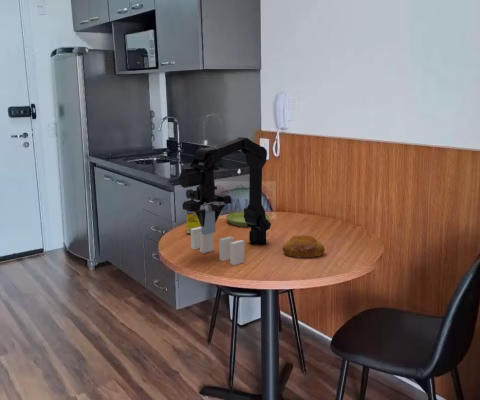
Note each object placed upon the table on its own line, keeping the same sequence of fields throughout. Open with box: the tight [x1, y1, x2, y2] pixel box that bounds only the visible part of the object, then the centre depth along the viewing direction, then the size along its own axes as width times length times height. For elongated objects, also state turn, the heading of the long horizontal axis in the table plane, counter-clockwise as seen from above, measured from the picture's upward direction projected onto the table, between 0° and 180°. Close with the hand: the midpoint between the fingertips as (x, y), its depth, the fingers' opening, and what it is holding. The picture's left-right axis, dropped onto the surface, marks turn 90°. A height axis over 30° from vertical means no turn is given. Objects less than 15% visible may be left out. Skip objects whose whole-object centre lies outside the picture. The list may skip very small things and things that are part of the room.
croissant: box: [282, 235, 326, 258], centre depth 185 cm, size 14×16×8 cm
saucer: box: [225, 211, 270, 228], centre depth 230 cm, size 21×21×3 cm
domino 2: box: [201, 209, 216, 235], centre depth 179 cm, size 2×5×8 cm, turn 131°
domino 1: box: [190, 227, 202, 250], centre depth 192 cm, size 2×5×8 cm, turn 131°
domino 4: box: [218, 235, 234, 262], centre depth 178 cm, size 2×5×8 cm, turn 131°
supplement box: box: [186, 210, 201, 236], centre depth 211 cm, size 6×6×11 cm
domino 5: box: [229, 239, 245, 266], centre depth 174 cm, size 2×5×8 cm, turn 131°
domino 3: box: [199, 232, 214, 254], centre depth 187 cm, size 2×5×8 cm, turn 131°
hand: (208, 225), depth 179 cm, fingers closed on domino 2, 5 cm apart
